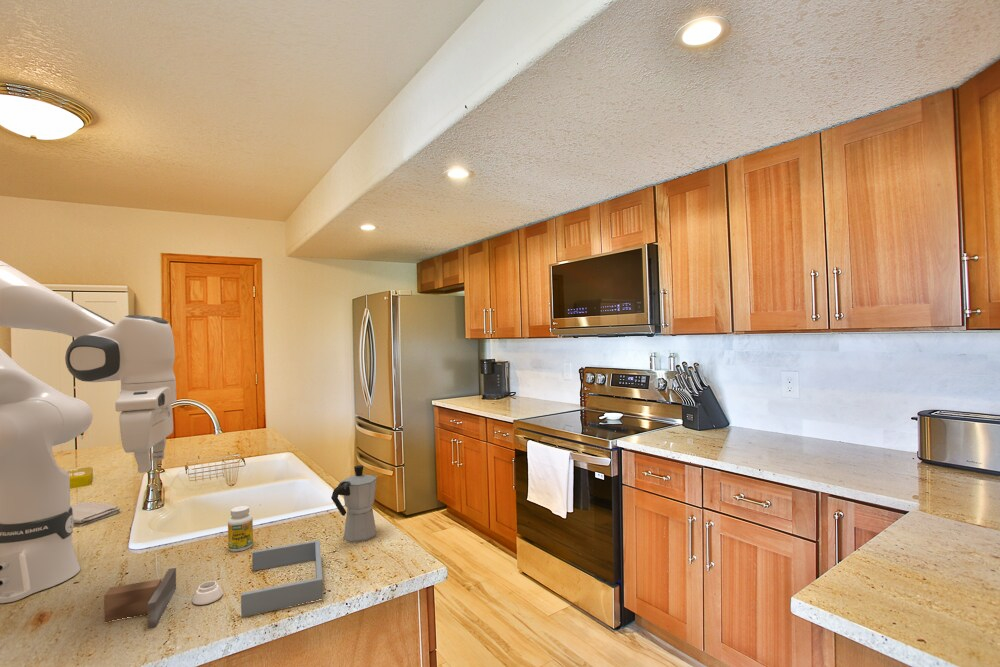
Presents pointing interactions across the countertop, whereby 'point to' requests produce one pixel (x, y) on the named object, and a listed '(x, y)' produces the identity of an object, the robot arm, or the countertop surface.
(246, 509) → the supplement bottle
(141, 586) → the scraper
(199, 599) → the white jar
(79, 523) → the washcloth
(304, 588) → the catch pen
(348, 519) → the coffee maker
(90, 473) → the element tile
